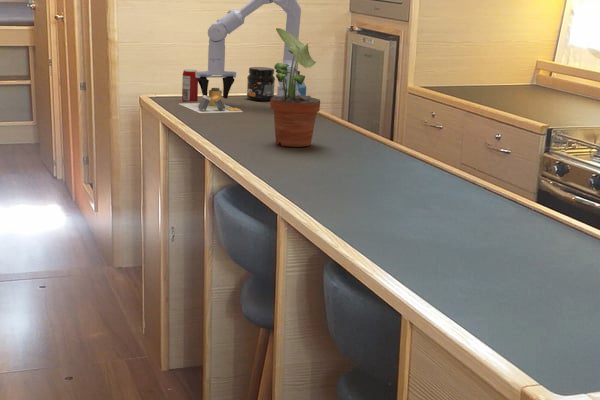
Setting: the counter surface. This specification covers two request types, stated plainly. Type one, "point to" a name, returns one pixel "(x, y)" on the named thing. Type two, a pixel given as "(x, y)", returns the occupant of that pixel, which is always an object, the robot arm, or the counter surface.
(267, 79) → the supplement container
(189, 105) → the panel
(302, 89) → the perfume bottle
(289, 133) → the potted plant
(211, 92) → the cap
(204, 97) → the breaker
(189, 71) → the soda can
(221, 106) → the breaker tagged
